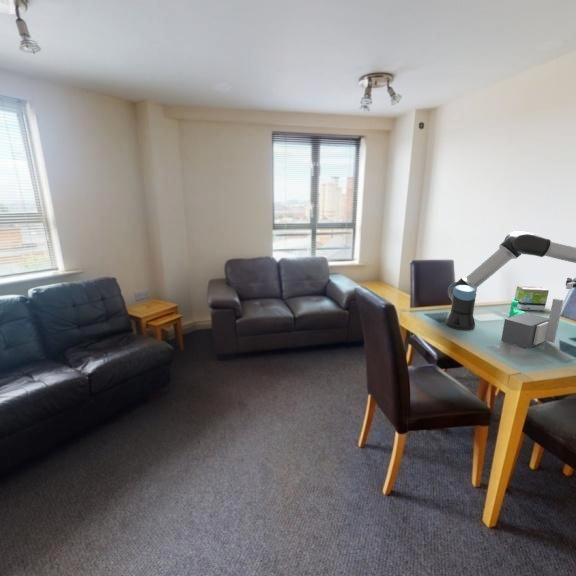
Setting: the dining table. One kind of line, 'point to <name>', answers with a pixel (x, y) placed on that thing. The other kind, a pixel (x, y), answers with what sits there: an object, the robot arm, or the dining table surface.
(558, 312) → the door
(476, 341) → the dining table surface
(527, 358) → the dining table surface
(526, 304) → the tea box
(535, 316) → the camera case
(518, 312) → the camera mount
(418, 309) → the dining table surface
